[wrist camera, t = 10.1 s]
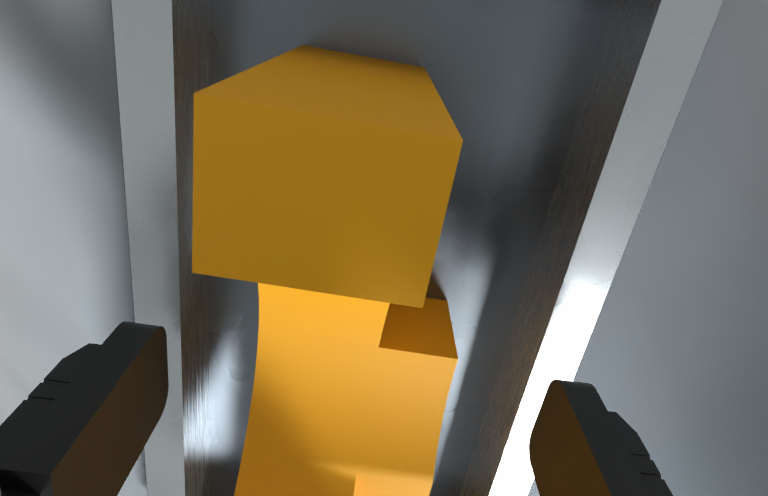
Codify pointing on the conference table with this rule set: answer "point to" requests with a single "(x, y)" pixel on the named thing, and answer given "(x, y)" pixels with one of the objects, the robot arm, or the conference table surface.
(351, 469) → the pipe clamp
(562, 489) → the robot arm
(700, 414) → the conference table surface
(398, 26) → the grey metal tray
